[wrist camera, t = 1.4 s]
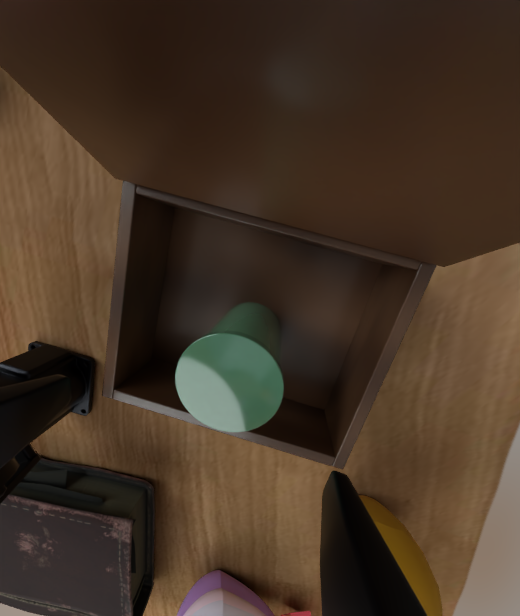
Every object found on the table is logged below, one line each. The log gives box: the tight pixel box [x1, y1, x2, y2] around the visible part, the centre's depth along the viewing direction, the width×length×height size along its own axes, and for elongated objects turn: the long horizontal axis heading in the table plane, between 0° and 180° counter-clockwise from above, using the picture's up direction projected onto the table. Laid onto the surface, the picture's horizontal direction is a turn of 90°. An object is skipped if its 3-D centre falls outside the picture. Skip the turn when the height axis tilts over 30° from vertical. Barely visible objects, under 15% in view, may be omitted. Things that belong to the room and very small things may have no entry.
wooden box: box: [102, 181, 436, 469], centre depth 18 cm, size 15×18×6 cm
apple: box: [359, 495, 442, 616], centre depth 20 cm, size 8×8×9 cm
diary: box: [0, 458, 155, 616], centre depth 27 cm, size 19×25×5 cm
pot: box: [175, 302, 284, 432], centre depth 16 cm, size 6×6×8 cm
